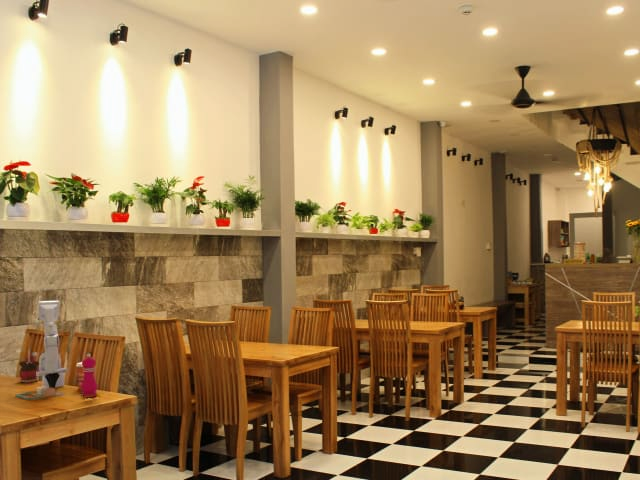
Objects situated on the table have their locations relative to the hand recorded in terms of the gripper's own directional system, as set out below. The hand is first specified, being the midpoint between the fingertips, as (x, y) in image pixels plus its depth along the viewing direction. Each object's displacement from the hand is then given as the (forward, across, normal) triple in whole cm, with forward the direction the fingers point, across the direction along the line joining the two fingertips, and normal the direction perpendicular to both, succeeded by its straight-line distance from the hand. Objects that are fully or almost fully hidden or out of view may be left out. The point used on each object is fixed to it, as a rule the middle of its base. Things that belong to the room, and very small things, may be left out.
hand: (52, 389), depth 327 cm
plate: (+3, -4, -3) cm, 5 cm away
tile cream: (+1, -5, 0) cm, 5 cm away
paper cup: (+3, +14, -5) cm, 15 cm away
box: (+3, -12, -3) cm, 13 cm away
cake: (+3, +12, +50) cm, 52 cm away
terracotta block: (+1, -5, -6) cm, 8 cm away
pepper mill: (+3, +8, -20) cm, 22 cm away
